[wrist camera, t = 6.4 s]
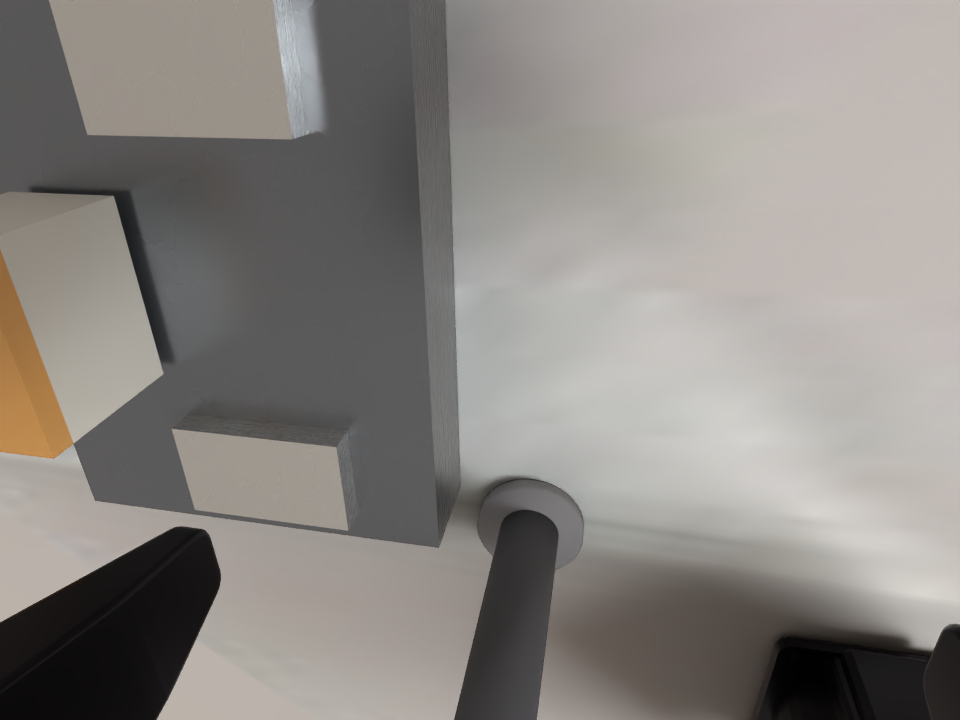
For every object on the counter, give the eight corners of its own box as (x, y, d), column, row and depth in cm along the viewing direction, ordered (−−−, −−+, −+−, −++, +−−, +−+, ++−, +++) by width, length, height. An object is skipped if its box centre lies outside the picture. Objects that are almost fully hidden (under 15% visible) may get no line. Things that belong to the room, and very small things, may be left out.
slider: (163, 373, 18) (54, 458, 14) (71, 365, 18) (-56, 444, 15) (113, 195, 16) (-32, 246, 12) (9, 191, 16) (-158, 238, 13)
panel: (460, 485, 22) (432, 567, 19) (151, 448, 24) (77, 516, 21) (442, -69, 14) (390, -96, 11) (-4, -52, 17) (-158, -70, 13)
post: (580, 565, 23) (558, 851, 15) (481, 552, 23) (410, 819, 16) (587, 485, 21) (566, 760, 13) (480, 473, 22) (400, 729, 14)
